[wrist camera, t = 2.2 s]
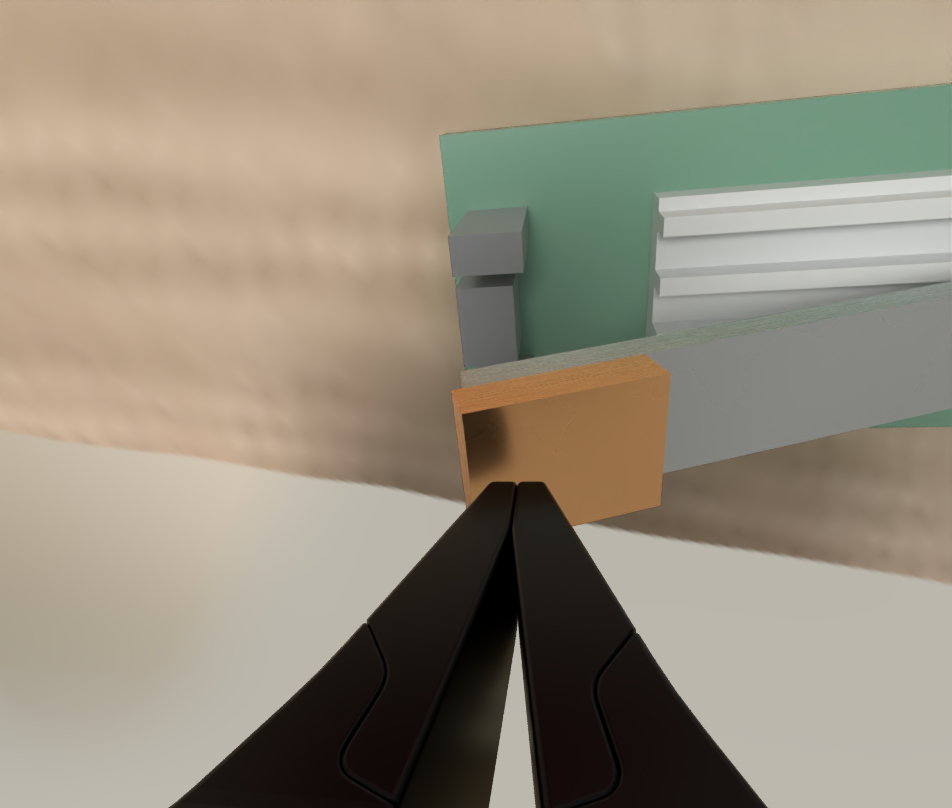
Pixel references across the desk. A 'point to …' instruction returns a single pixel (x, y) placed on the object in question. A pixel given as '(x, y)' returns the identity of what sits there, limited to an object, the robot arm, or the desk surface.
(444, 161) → the base
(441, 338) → the desk surface
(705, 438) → the strap
